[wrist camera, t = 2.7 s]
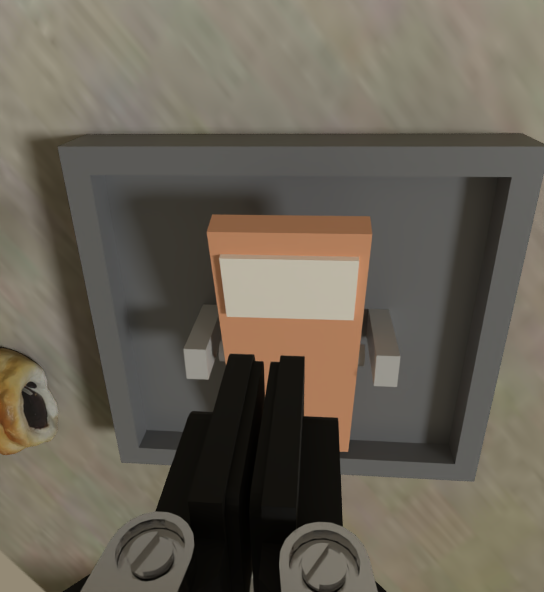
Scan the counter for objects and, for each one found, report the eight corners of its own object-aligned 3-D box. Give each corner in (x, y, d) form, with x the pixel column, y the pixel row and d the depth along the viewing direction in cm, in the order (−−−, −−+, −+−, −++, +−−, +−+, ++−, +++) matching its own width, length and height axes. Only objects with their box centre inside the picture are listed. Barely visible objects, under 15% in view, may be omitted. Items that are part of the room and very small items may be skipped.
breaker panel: (460, 442, 31) (488, 523, 26) (137, 427, 32) (103, 499, 27) (522, 133, 23) (581, 161, 17) (86, 134, 24) (24, 160, 19)
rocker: (353, 433, 28) (354, 456, 27) (235, 427, 29) (231, 450, 28) (378, 216, 19) (381, 238, 18) (204, 214, 20) (197, 235, 18)
